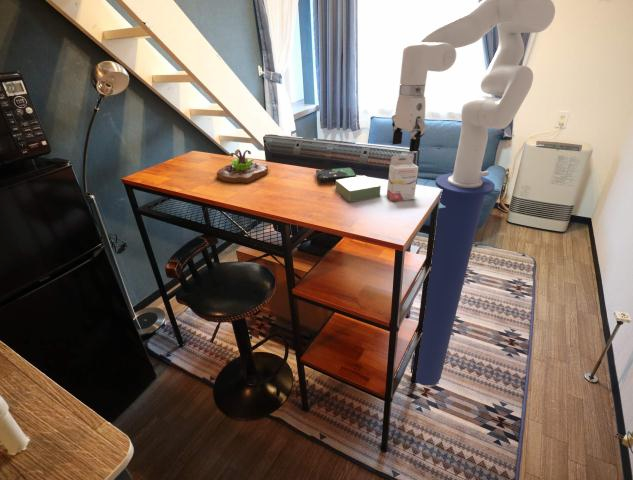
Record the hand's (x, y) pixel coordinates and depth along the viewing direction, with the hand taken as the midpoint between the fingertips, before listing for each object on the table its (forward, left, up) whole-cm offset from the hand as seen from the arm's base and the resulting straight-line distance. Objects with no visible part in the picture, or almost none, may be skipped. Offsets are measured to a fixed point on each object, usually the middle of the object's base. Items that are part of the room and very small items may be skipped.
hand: (405, 147), depth 112 cm
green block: (+12, -10, -18) cm, 24 cm away
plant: (+47, -48, -18) cm, 69 cm away
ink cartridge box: (0, 0, -18) cm, 18 cm away
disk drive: (+13, -27, -18) cm, 35 cm away
